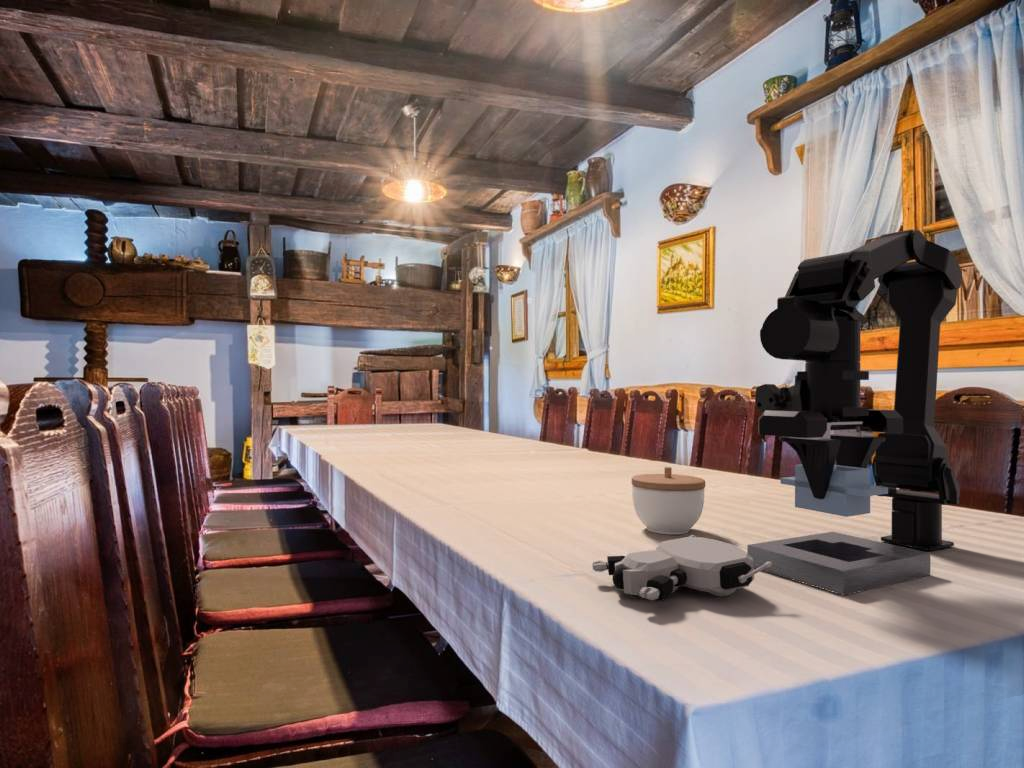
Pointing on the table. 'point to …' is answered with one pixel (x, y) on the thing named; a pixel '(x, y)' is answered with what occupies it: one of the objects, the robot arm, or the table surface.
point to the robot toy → (682, 568)
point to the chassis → (840, 561)
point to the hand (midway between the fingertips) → (832, 497)
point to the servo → (837, 491)
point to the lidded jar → (668, 501)
